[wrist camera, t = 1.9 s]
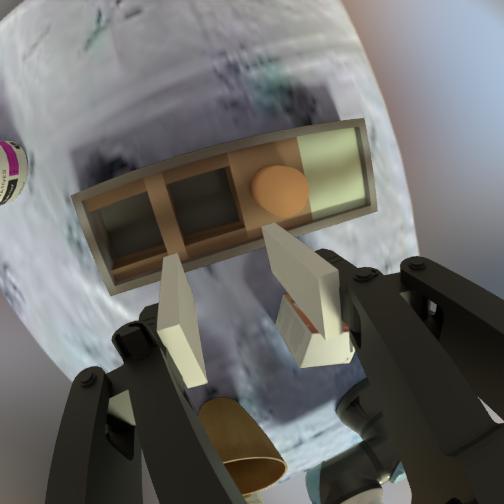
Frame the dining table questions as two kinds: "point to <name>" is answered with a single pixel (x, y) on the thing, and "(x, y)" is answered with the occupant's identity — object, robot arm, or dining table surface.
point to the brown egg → (280, 190)
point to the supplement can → (12, 171)
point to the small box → (310, 338)
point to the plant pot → (241, 445)
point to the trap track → (221, 201)
